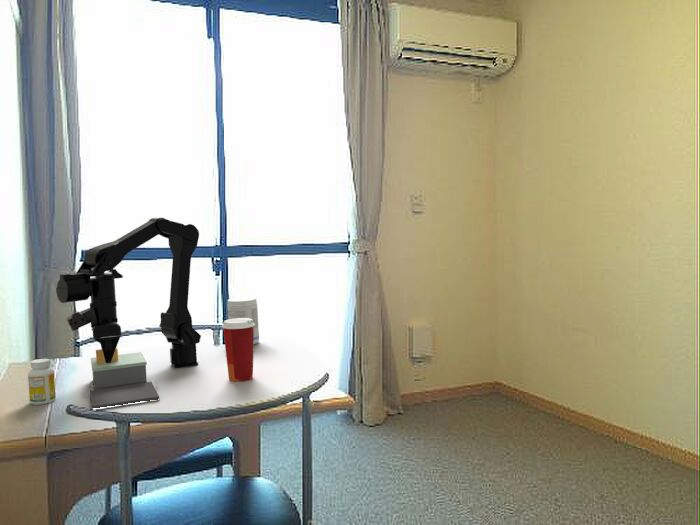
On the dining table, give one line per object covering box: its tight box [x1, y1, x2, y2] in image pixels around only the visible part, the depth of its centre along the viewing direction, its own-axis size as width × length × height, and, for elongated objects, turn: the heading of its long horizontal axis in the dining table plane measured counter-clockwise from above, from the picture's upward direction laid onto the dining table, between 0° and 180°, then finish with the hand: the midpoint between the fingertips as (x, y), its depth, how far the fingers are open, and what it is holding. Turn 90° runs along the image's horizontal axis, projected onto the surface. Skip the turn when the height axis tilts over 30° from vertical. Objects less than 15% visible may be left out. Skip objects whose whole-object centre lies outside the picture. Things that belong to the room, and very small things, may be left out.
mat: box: [89, 381, 160, 409], centre depth 138 cm, size 14×14×1 cm
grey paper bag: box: [227, 296, 260, 346], centre depth 193 cm, size 10×10×15 cm
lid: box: [90, 347, 148, 373], centre depth 151 cm, size 12×12×5 cm
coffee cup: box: [221, 318, 255, 383], centre depth 151 cm, size 8×8×15 cm
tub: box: [91, 365, 148, 390], centre depth 151 cm, size 12×12×5 cm
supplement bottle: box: [27, 358, 57, 406], centre depth 136 cm, size 5×5×10 cm
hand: (107, 359), depth 150 cm, fingers open, 9 cm apart
